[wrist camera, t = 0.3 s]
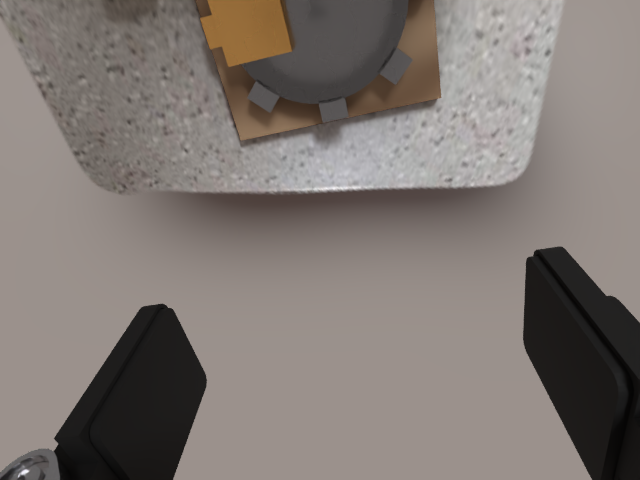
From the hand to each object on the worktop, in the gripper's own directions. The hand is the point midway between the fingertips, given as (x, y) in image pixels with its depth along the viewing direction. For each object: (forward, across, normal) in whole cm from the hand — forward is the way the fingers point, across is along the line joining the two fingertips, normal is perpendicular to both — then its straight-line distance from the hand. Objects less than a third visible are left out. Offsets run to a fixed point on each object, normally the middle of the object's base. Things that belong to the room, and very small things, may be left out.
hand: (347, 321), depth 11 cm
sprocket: (+28, +1, -7) cm, 29 cm away
